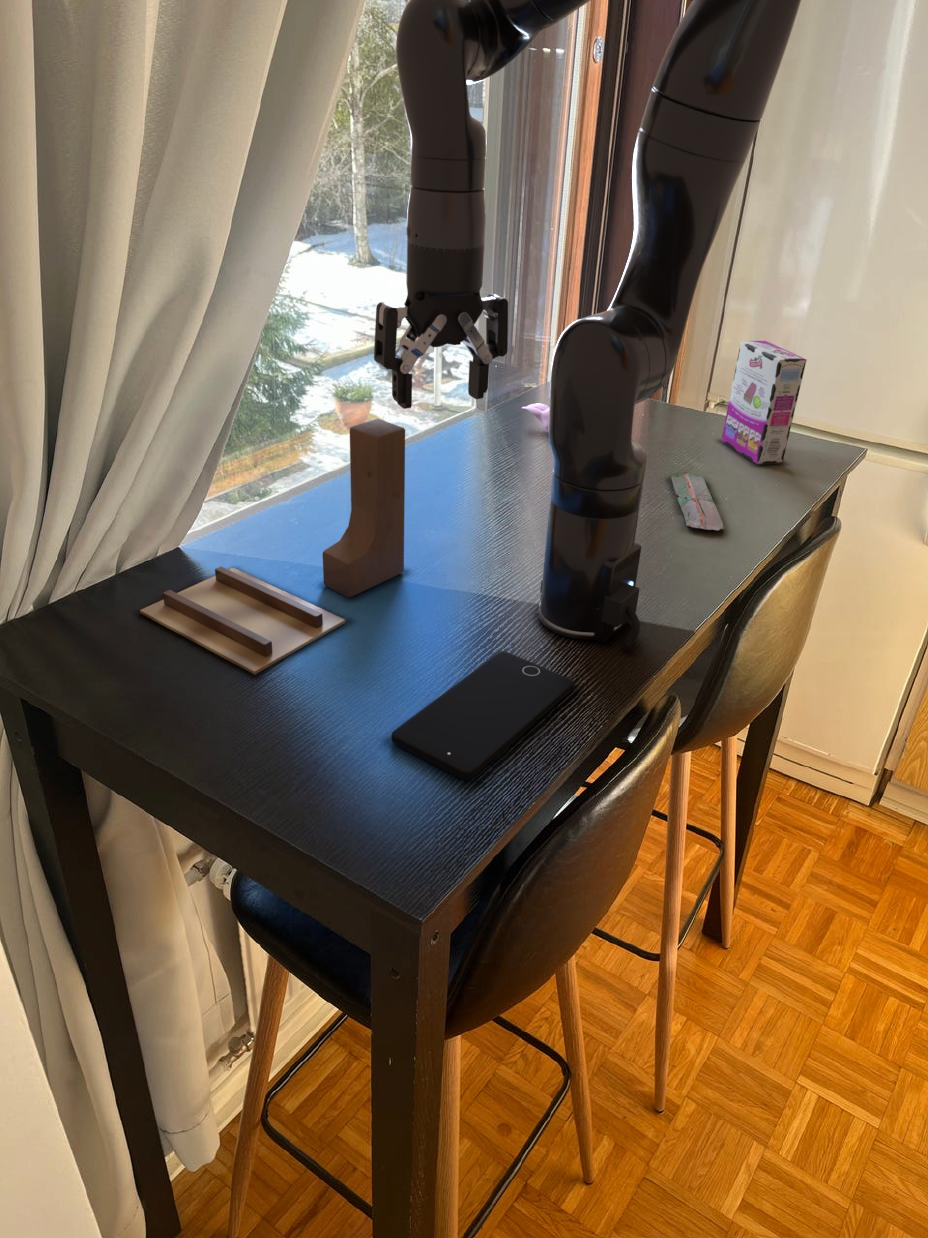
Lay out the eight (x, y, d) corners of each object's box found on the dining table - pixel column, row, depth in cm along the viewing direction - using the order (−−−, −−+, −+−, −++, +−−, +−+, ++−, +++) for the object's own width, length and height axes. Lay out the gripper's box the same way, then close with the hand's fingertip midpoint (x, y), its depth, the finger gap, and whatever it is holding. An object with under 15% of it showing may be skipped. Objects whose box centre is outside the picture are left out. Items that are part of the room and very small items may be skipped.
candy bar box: (784, 463, 148) (809, 358, 139) (757, 466, 146) (779, 360, 138) (746, 438, 157) (766, 338, 148) (719, 440, 156) (738, 340, 147)
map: (701, 478, 142) (702, 472, 142) (726, 531, 124) (727, 525, 124) (668, 476, 143) (668, 470, 142) (688, 529, 125) (689, 522, 124)
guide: (345, 622, 102) (345, 607, 101) (254, 674, 93) (253, 658, 92) (233, 570, 111) (231, 555, 110) (140, 613, 102) (137, 598, 101)
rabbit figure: (604, 449, 153) (534, 411, 161) (613, 416, 150) (542, 379, 157) (580, 459, 149) (510, 420, 157) (589, 425, 146) (517, 386, 153)
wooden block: (349, 599, 106) (345, 447, 97) (322, 585, 109) (316, 436, 100) (405, 573, 112) (406, 427, 103) (378, 560, 115) (377, 416, 106)
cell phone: (576, 688, 93) (577, 680, 93) (468, 783, 80) (469, 775, 80) (501, 656, 97) (502, 649, 97) (388, 742, 85) (388, 734, 84)
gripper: (395, 249, 86) (394, 421, 94) (528, 241, 92) (516, 404, 100) (362, 234, 91) (364, 398, 100) (489, 228, 97) (481, 383, 106)
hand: (440, 401), depth 100 cm, fingers open, 8 cm apart
